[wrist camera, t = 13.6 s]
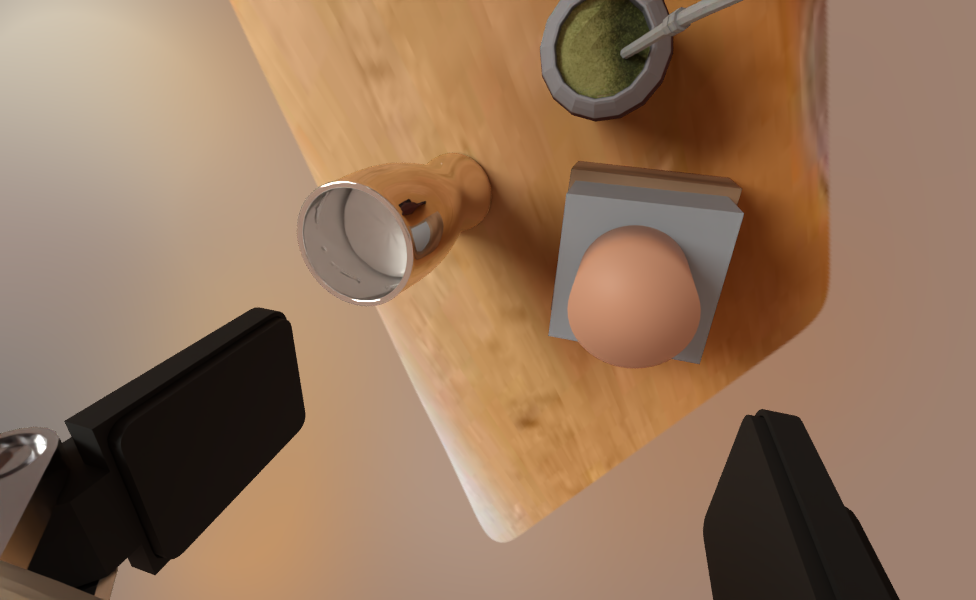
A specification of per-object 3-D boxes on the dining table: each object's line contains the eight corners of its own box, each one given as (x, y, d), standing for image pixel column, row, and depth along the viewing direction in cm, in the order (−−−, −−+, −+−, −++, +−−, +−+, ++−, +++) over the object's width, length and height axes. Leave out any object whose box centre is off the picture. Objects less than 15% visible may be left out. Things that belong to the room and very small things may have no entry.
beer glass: (515, 201, 35) (444, 263, 22) (452, 251, 38) (357, 332, 25) (458, 126, 34) (346, 144, 21) (398, 184, 37) (269, 232, 24)
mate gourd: (534, 72, 31) (461, 53, 18) (615, -47, 27) (599, -181, 14) (617, 143, 31) (605, 176, 18) (709, 35, 28) (778, -22, 14)
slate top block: (575, 180, 29) (566, 193, 25) (728, 196, 27) (744, 213, 23) (558, 307, 33) (548, 335, 29) (691, 330, 31) (699, 364, 27)
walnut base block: (578, 160, 33) (571, 168, 29) (728, 177, 31) (741, 188, 27) (559, 287, 37) (550, 309, 33) (689, 310, 35) (696, 337, 31)
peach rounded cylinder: (587, 218, 25) (577, 243, 21) (702, 233, 24) (716, 263, 20) (571, 314, 28) (559, 354, 24) (674, 333, 27) (682, 379, 22)
